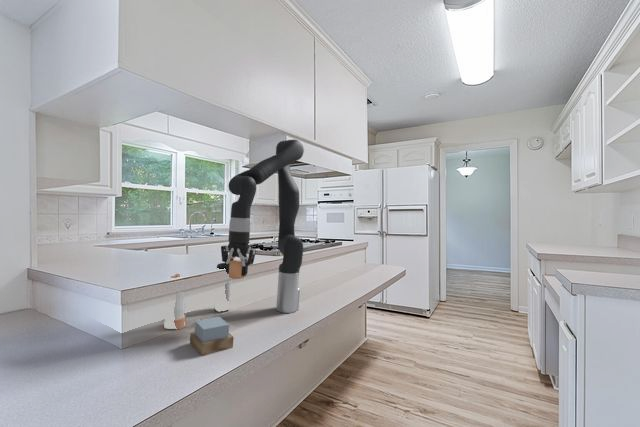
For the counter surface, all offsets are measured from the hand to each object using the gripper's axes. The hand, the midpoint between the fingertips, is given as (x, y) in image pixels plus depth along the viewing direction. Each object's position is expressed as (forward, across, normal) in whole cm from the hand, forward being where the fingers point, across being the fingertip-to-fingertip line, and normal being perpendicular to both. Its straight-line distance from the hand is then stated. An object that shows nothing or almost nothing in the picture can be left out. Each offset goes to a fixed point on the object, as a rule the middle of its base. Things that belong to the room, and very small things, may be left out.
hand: (236, 274), depth 118 cm
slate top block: (+16, +3, -17) cm, 24 cm away
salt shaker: (+20, -18, -10) cm, 29 cm away
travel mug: (+20, -14, +13) cm, 28 cm away
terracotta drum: (+1, 0, 0) cm, 1 cm away
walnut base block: (+20, +3, -17) cm, 26 cm away
